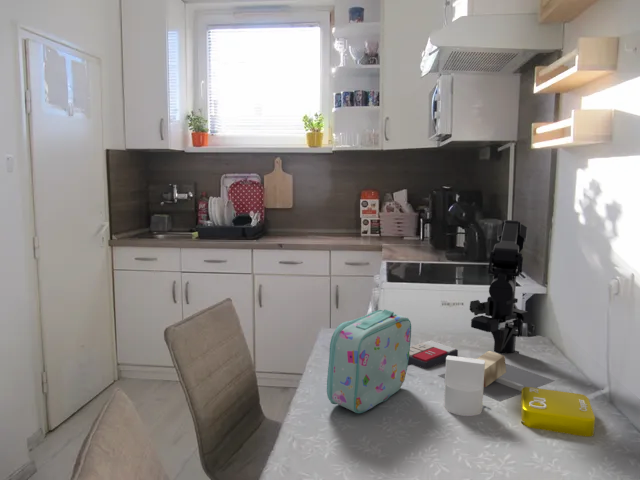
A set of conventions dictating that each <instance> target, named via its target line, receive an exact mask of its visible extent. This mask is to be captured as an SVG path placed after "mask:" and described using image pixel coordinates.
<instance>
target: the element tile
mask: <svg viewBox="0 0 640 480" xmlns="http://www.w3.org/2000/svg"><path fill="white" fill-rule="evenodd" d="M520 410H521V411H520V412H521V413H520V414H521V415H520V416H521V424H522V425H523V426H524V427H527V428H530V429H535V430H542V431H547V432H548V431H549V432H555V433H560V434H565V435H566V434H567V435H572V436H573V435H574V436H580V437H585V438H586V437H587V438H588V437H593V436H594V435H595V427H596V426H595V423H596V417H595V413H594V410H593V408H592V405H591V401H590V399H589V397H588V396H587V395H585V394H582V393H575V392H567V391H561V390H553V389H546V388H540V387H537V388H532V387H524V388H522V391H521V394H520Z"/></svg>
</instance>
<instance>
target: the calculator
mask: <svg viewBox="0 0 640 480" xmlns="http://www.w3.org/2000/svg"><path fill="white" fill-rule="evenodd" d="M458 351H459V350H458V349H457V348H454V347H453V346H448V345H446V344H442V343H439V342H437V341H433V340H431V339H430V340H428V341H427V340H426V341H423V342H420V343H417V344H414V345H410V352H409V360H408V366H413V365H414V366H417V367H419V368H422V369H429V368H432V367H436V366H439V365H442V364H446V357H447V356H448V355H449V356H457V357H459V355H458V353H459V352H458Z"/></svg>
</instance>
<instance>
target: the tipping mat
mask: <svg viewBox="0 0 640 480" xmlns="http://www.w3.org/2000/svg"><path fill="white" fill-rule="evenodd" d="M505 365H506V373H505V374H503V375H502V376H500V377H499V378H498V379H496V380H495V381H493V382H492V383H491V384H489V385H488V386H487V387H483V396H486V397H488V398H490V399H494V400H495V401H498V402H502V401H504V400H508V399H510V398H513V397H515V396H518V395H521V391H522V388H524V387H532V388H540V387H542V386H544V385H547V384H549V383H552V382H555V381H556V380H554V379H552V378H549V377H546V376H543V375H540V374H537V373H535V372H531V371H528V370H525V369H523V368H519V367H517V366H515V365H512V364H508V363H507V362H505ZM437 376H438V377H439V378H441V379H442V378H443V379H444V380H445V373H442V374H439V375H437Z"/></svg>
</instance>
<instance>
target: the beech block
mask: <svg viewBox="0 0 640 480" xmlns="http://www.w3.org/2000/svg"><path fill="white" fill-rule="evenodd" d="M476 359H480V360H485V371H484V387H487V386H488V385H489V384H491V383H492V382H493V381H495V380H496V379H498V378H499V377H500V376H502V375H503V374H505V373H506V365H505V363H506V357H505V355H503V354H501V353H498V352H495V351H491V350H488V351H486V352H485V353H483V354H482V355H480V356H478V357H476Z"/></svg>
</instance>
